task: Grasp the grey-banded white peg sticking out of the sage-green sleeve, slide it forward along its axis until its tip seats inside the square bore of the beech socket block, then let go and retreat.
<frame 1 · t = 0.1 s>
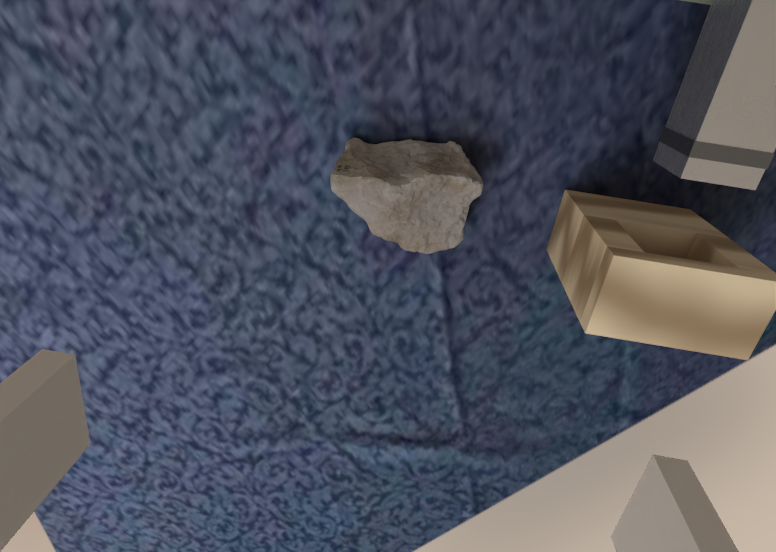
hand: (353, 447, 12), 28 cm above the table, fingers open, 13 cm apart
stone: (407, 179, 38), on the table
socket block: (616, 230, 38), on the table
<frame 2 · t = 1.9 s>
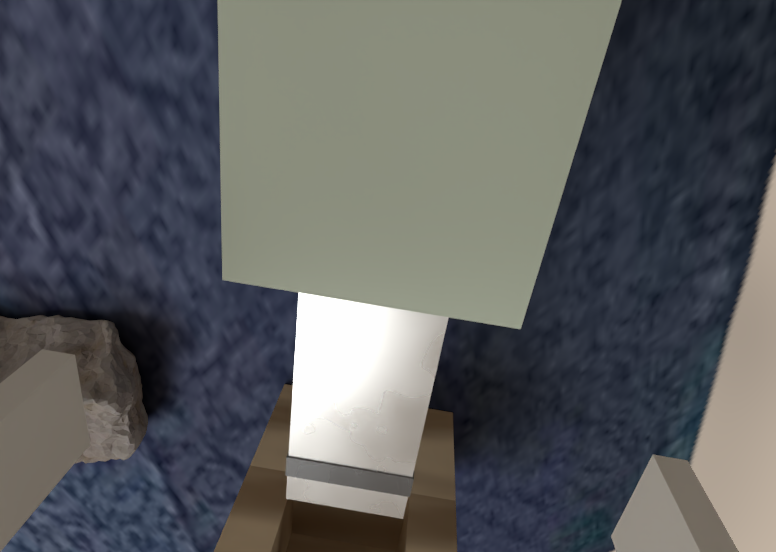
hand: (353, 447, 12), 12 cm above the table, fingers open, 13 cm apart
sleeve: (424, 35, 19), on the table
grey-banded white peg: (387, 227, 14), point 8 cm above the table, slide at 0.0 cm
stone: (81, 356, 28), on the table
socket block: (363, 431, 28), on the table
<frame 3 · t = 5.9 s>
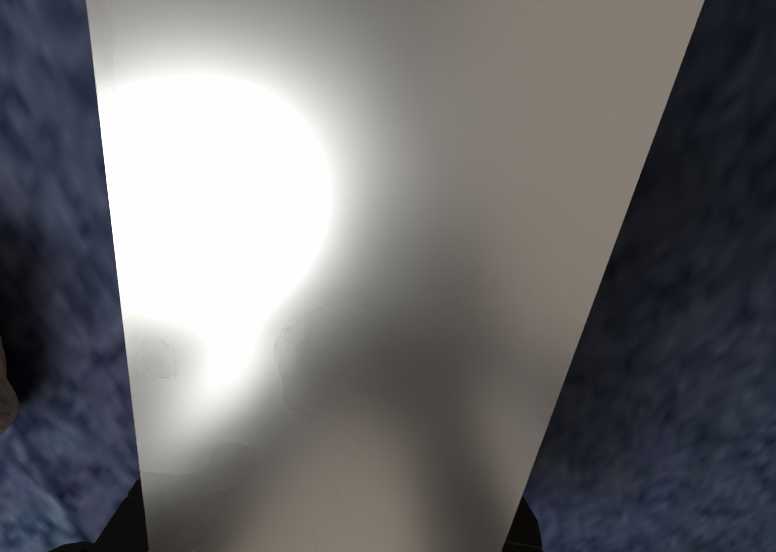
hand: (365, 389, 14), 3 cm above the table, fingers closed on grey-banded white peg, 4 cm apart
grey-banded white peg: (344, 438, 7), point 8 cm above the table, slide at 6.9 cm, touching gripper
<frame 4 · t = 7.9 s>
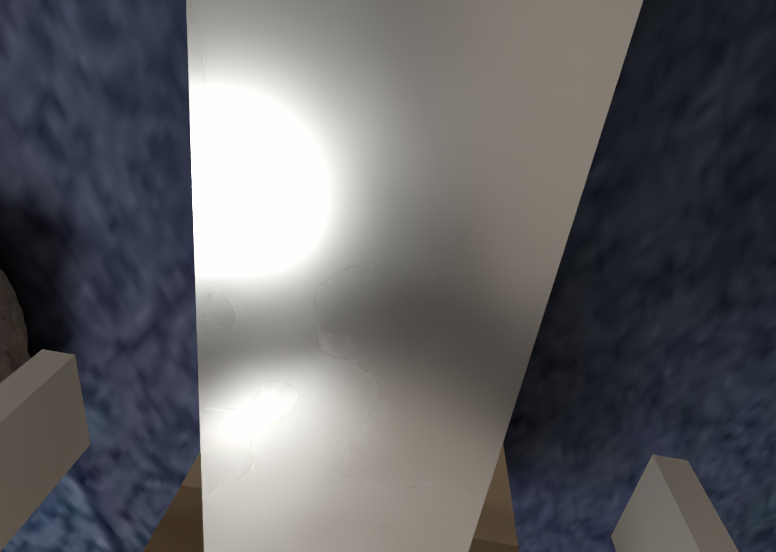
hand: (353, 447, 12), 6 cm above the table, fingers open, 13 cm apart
grey-banded white peg: (360, 396, 9), point 8 cm above the table, slide at 7.0 cm
socket block: (365, 435, 19), on the table
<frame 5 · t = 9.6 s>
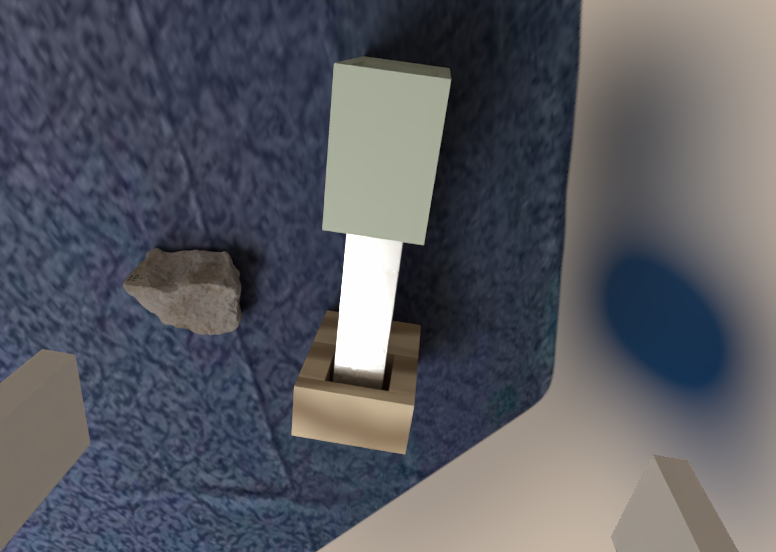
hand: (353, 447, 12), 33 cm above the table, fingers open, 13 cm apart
sleeve: (397, 129, 41), on the table
grey-banded white peg: (369, 301, 38), point 8 cm above the table, slide at 7.0 cm
stone: (204, 276, 49), on the table
socket block: (371, 339, 49), on the table
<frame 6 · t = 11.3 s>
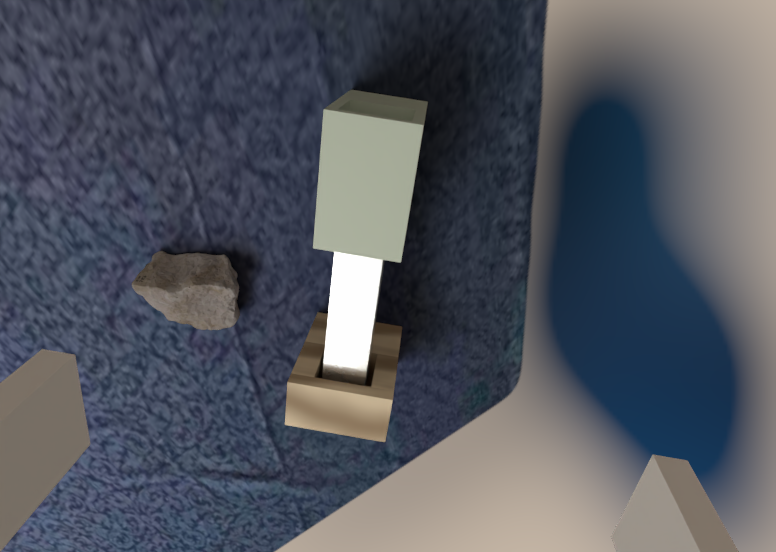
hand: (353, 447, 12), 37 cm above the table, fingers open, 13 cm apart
sleeve: (381, 153, 46), on the table
grey-banded white peg: (354, 308, 44), point 8 cm above the table, slide at 7.0 cm
stone: (204, 276, 53), on the table
socket block: (357, 338, 55), on the table
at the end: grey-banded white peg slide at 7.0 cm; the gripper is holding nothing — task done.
